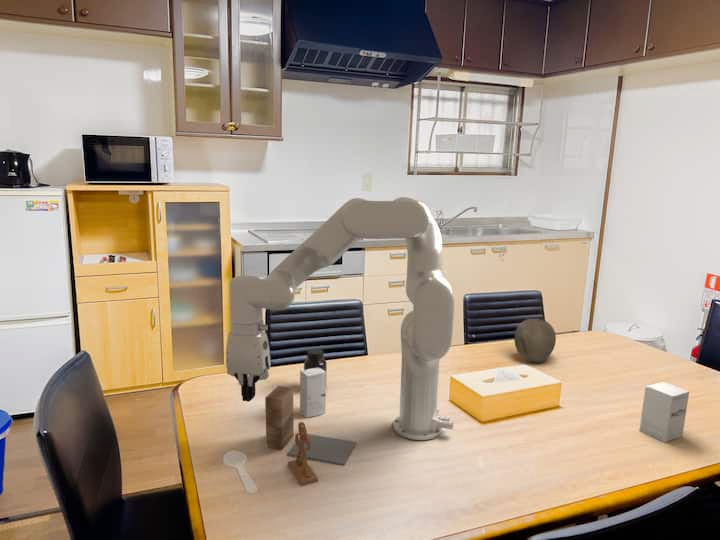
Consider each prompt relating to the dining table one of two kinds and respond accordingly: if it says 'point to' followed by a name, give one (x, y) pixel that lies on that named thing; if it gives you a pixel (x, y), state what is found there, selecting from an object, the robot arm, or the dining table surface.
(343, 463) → the rubber mat
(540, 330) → the cantaloupe
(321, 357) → the supplement bottle
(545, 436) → the dining table surface
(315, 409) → the skincare box
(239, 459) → the spoon
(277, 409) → the walnut box
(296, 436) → the wooden figurine
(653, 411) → the supplement box
